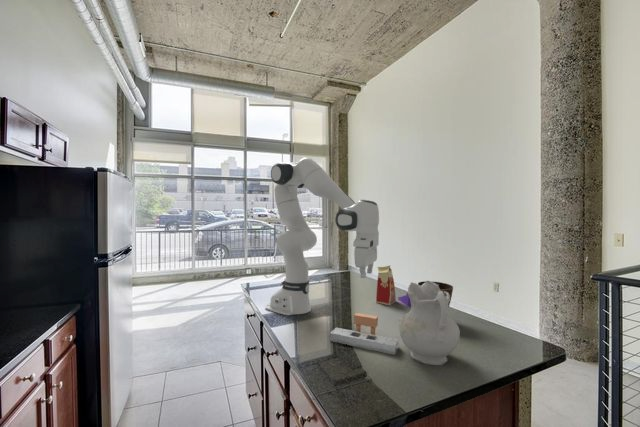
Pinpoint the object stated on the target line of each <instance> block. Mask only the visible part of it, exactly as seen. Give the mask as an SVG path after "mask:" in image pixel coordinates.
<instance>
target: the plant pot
mask: <svg viewBox="0 0 640 427" xmlns="http://www.w3.org/2000/svg"><path fill="white" fill-rule="evenodd" d="M427 281H428V280H425V282H427ZM425 282H424V281H418V282H417V285H419V286H421V285H423V284H424V283H425ZM432 282H433V283H435V284H437V285H438V284H439V285H438V286H439V288H440V290H441V291H446V292H447V293H449V295H450V301H449V304H448V308H449V307H450V305H451V301H452V297H453V291H454V286H453V285H451V284H449V283H445V282H440V281H432Z"/></svg>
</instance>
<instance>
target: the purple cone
mask: <svg viewBox="0 0 640 427" xmlns="http://www.w3.org/2000/svg"><path fill="white" fill-rule="evenodd" d="M397 300H398V301H399V302H401V303H402V304H403V305H404V306H406V307H408V308H409V307H410V308H411V301H410V298H409V296H408V292H406V294H405V295H402V296H398V297H397Z"/></svg>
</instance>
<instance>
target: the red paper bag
mask: <svg viewBox="0 0 640 427" xmlns="http://www.w3.org/2000/svg"><path fill="white" fill-rule="evenodd" d="M377 272H378V273H377V283H376V296H375V299H376V301H375V303H376V304H381V305H386V306H391V305H393V304H394V303H396V302H397V295H396V287H395V279H394V275H393V271H392V269H391V265H386V266H377Z"/></svg>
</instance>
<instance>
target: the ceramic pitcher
mask: <svg viewBox="0 0 640 427" xmlns="http://www.w3.org/2000/svg"><path fill="white" fill-rule="evenodd" d="M425 281H427V282H425ZM425 281H424V282H425V283H424V284H423V285H421V286H419V285H418V283H416V282H411V281H410V284H409V285H408V288H407V293H408V296H409V298H410V301H411V307H410V310H409V311H408V312H407V313H405V314H404V315H403V316H401V318H400V319H399V322H398V332H399V335H400V338H401V340H402V342H403V344H404V346H405V347H407V349H408V350H410V352H409V353H410V354H409V355H410V357H411V359H414V360H415V361H417V362H420V363H422V364H425V365H429V366H443V365H444V364H446V362H448V360H449V359H448V358H447V356H450V355H451V354H452V353H453V352H454V351H455V350H456V348H457V347H458V345H459V343H460V337H461V330H460V328H459V326H458V324H457V323H456V322H455V321H454V319H452V318H451V317H450V316H449V312H450V311H449V310H450V309H449V308H448V304H449V301H450V295H449V293H447V292H446V291H441V290H440V288H439V286H438V285H439V284H438V285H437V284H435V283H433V282H434V281H433V282H432V281H430V280H425ZM450 302H451V301H450Z"/></svg>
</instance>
